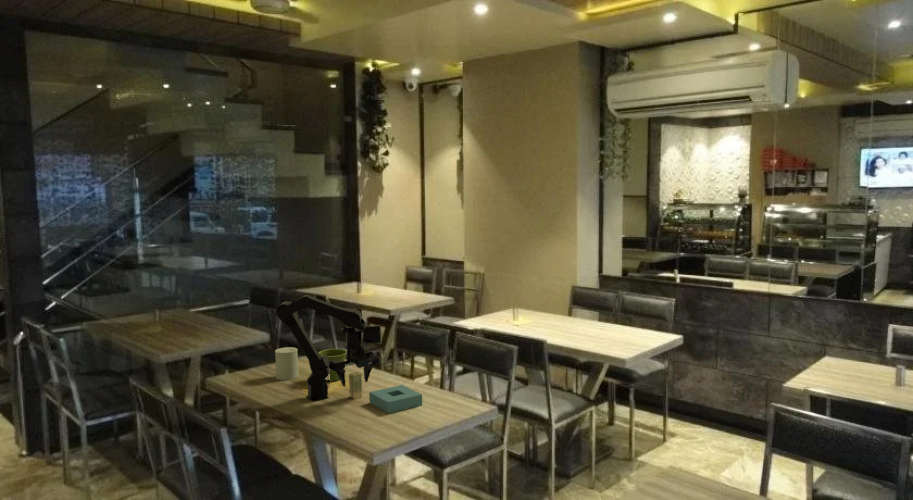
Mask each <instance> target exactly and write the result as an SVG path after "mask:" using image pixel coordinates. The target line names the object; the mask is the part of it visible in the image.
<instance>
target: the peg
mask: <svg viewBox="0 0 913 500" xmlns="http://www.w3.org/2000/svg"><path fill="white" fill-rule="evenodd" d="M348 381H349V397H350V398H352V399H353V400H355V399H356V398H357V399H360V398H363V383H362V373H360V372H359V371H355V372H350V373H349V374H348Z"/></svg>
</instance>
